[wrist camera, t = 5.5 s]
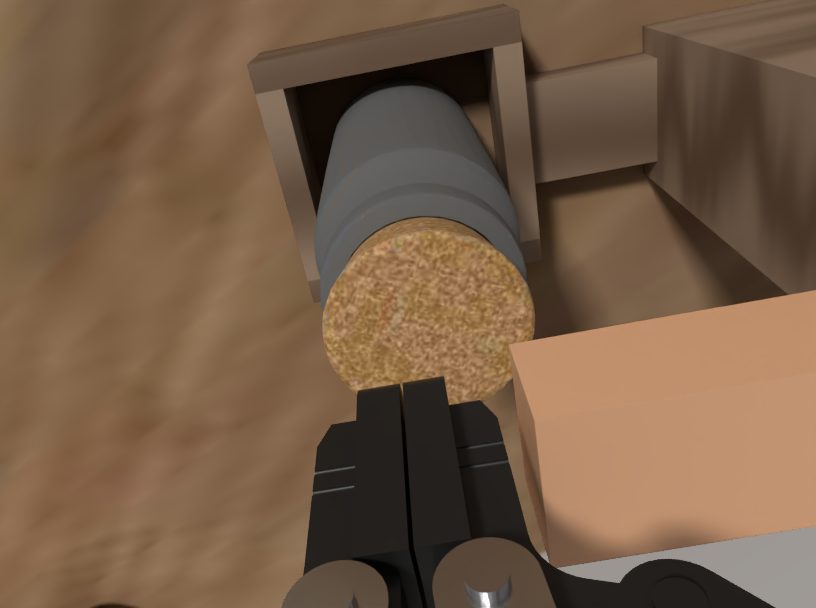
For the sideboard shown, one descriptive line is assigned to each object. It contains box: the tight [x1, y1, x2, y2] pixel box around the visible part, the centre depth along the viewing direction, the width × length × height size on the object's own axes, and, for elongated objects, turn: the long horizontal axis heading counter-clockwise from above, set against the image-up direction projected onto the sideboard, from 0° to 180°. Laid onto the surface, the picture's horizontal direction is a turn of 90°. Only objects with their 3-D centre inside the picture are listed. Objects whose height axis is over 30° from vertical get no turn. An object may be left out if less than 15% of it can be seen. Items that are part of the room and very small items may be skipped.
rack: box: [247, 0, 816, 302], centre depth 20 cm, size 10×21×18 cm, turn 100°
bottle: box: [314, 78, 535, 405], centre depth 21 cm, size 6×6×15 cm
